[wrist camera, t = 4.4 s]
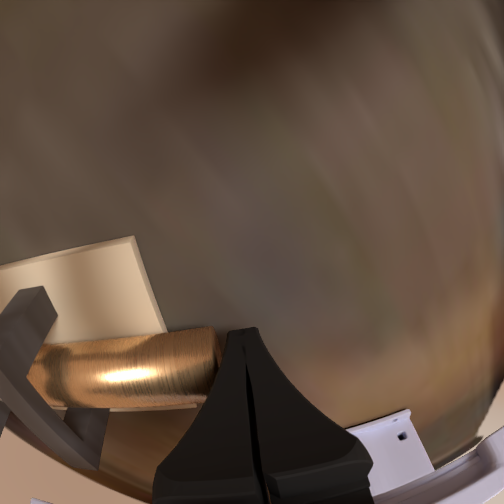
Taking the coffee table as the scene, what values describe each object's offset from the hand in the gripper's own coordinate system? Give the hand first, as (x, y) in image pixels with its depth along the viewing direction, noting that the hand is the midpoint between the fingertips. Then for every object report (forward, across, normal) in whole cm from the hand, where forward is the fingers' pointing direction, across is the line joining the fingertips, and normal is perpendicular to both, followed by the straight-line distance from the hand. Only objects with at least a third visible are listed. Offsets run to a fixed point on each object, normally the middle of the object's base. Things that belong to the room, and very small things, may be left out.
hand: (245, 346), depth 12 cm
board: (+1, +12, 0) cm, 12 cm away
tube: (+1, +8, 0) cm, 8 cm away
